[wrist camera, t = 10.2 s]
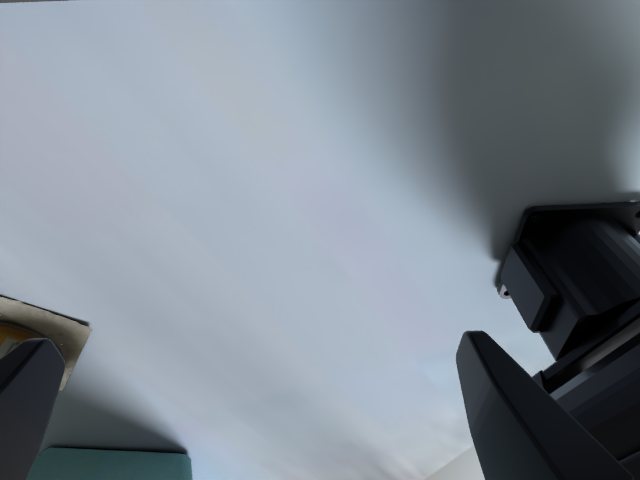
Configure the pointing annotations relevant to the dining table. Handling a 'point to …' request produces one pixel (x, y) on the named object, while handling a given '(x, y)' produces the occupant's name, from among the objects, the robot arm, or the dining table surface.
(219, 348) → the dining table surface
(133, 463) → the flower pot
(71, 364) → the condiment
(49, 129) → the dining table surface
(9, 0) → the gray socket block
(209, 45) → the dining table surface
